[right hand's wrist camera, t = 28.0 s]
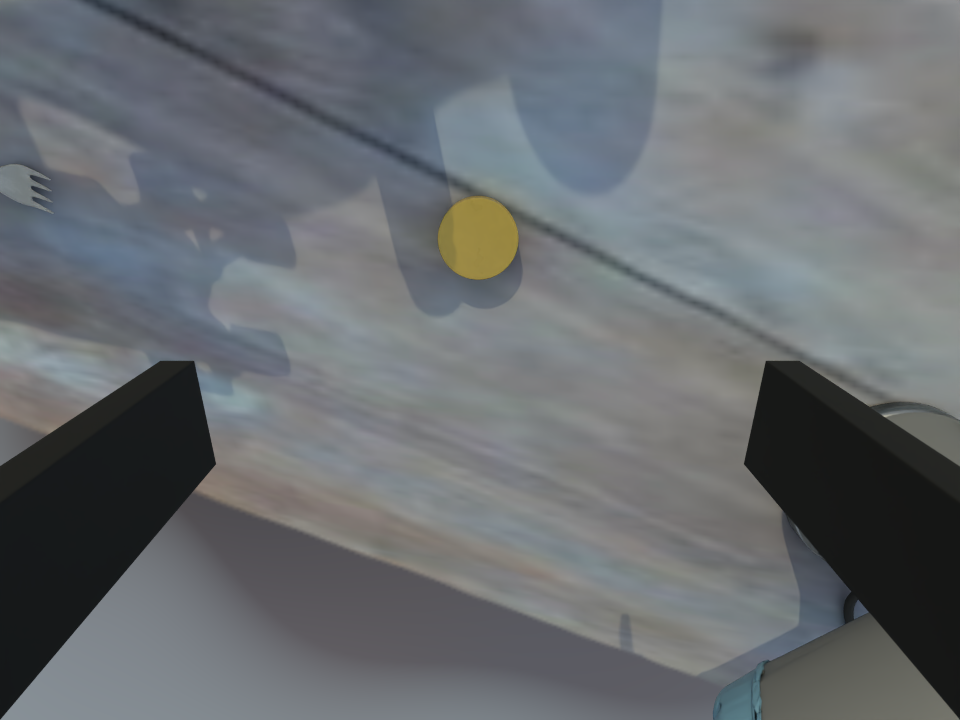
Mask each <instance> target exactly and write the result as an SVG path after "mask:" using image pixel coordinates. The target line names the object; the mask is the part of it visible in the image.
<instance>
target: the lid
mask: <svg viewBox="0 0 960 720" xmlns="http://www.w3.org/2000/svg"><path fill="white" fill-rule="evenodd" d="M438 246H439V250H440V253H441V256H442V258H443V260H444V261H445V263H446V264H447V265H448V266H449V267H450V269H452V270H453V271H454V272H455V273H457V274H459V275H460V276H463V277H465V278H469V279H474V280H482V279H488V278H491V277H494V276H496V275H498V274H500V273H501V272H502V271H504V270H505V269H506V268H507V267H508V266H509V265H510V263H511V262H512V260H513V259H514V256H515V254H516V251H517V248H518V230H517V226H516V224H515V221H514V219H513V217H512V215H511V214H510V212H509V211H508V210H507V209H506V207H505V206H503V205H502V204H501V203H500V202H498V201H496V200H494V199H492V198H489V197H485V196H471V197H467V198H464V199H462V200H460V201H458V202H457V203H455V204H454V205H453V206H452V207H451V208H450V209H449V210H448V211H447V213H446V214H445V216H444V218H443V220H442V222H441V224H440V227H439V232H438Z"/></svg>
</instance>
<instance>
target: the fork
mask: <svg viewBox="0 0 960 720" xmlns="http://www.w3.org/2000/svg"><path fill="white" fill-rule="evenodd" d="M30 175H34V176H37V177H41V178H44V179H47V180H49V181H51V179H50V178H48V177H46V176H44V175H42V174H41V173H39V172H37V171H34V170H32V169H30V168H28V167H26V166H23V165H19V164H10V165H5V166H2V167H0V193H2V194H4V195H5V196H7V197H9V198H11V199H12V200H14V201H16V202H19V203H21V204H24V205H27V206H32V207H35V208H38V209H41V210H44V211H47V212H49V213H51V214H54V212H52V211H50V210H49V209H47V208H45V207H44V206H42V205H40V204H38V203H36V202H35V201H33V199H32V197H37V198H40V199H42V200H45V201H48V202H51V203H53V201H51V200H49V199H48V198H46V197H44V196H42V195H41V194H39V193H37V192H35V191H33V190H32V188H31V186H35V187H38V188H41V189H44V190H47V191H52V190H50V189H48V188H47V187H45V186H43V185H41V184H39V183H37V182H35V181H34V180H32V179H31V178H30Z"/></svg>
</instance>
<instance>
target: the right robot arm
mask: <svg viewBox="0 0 960 720" xmlns="http://www.w3.org/2000/svg"><path fill="white" fill-rule="evenodd" d="M215 465H216V462H215V457H214V452H213V448H212V443H211V438H210V434H209V429H208V424H207V419H206V415H205V410H204V405H203V401H202V396H201V391H200V387H199V382H198V377H197V373H196V368H195V363H194V361H160V362H158V363H157V364H155V365H154V366H152V367H151V368H149V369H148V370H146V371H145V372H143V373H142V374H140V375H138V376H137V377H135V378H134V379H132V380H131V381H129V382H128V383H126V384H125V385H123V386H122V387H120V388H119V389H117V390H116V391H114V392H113V393H111V394H110V395H108V396H106V397H105V398H103V399H102V400H100V401H99V402H97V403H96V404H94V405H93V406H91V407H90V408H88V409H87V410H85V411H84V412H82V413H81V414H79V415H77V416H76V417H74V418H73V419H71V420H70V421H68V422H67V423H65V424H64V425H62V426H61V427H59V428H58V429H56V430H55V431H53V432H52V433H50V434H49V435H47V436H45V437H44V438H42V439H41V440H39V441H38V442H36V443H35V444H33V445H32V446H30V447H29V448H27V449H26V450H24V451H23V452H21V453H20V454H18V455H17V456H15V457H13V458H12V459H10V460H9V461H7V462H6V463H4V464H3V465H1V466H0V719H1V718H2V717H3V716H4V715H5V713H6V712H7V711H8V710H9V709H10V707H11V706H12V705H13V704H14V703H15V701H16V700H17V699H18V698H19V697H20V695H21V694H22V693H23V692H24V691H25V690H26V688H27V687H28V686H29V685H30V684H31V683H32V681H33V680H34V679H35V678H36V677H37V675H38V674H39V673H40V672H41V671H42V670H43V668H44V667H45V666H46V665H47V664H48V662H49V661H50V660H51V659H52V658H53V656H54V655H55V654H56V653H57V652H58V651H59V649H60V648H61V647H62V646H63V645H64V643H65V642H66V641H67V640H68V639H69V638H70V636H71V635H72V634H73V633H74V632H75V630H76V629H77V628H78V627H79V626H80V625H81V623H82V622H83V621H84V620H85V619H86V617H87V616H88V615H89V614H90V613H91V611H92V610H93V609H94V608H95V607H96V606H97V604H98V603H99V602H100V601H101V600H102V598H103V597H104V596H105V595H106V594H107V593H108V591H109V590H110V589H111V588H112V587H113V585H114V584H115V583H116V582H117V581H118V580H119V578H120V577H121V576H122V575H123V574H124V572H125V571H126V570H127V569H128V568H129V566H130V565H131V564H132V563H133V562H134V560H135V559H136V558H137V557H138V556H139V555H140V553H141V552H142V551H143V550H144V549H145V547H146V546H147V545H148V544H149V543H150V542H151V540H152V539H153V538H154V537H155V536H156V535H157V533H158V532H159V531H160V530H161V529H162V527H163V526H164V525H165V524H166V523H167V521H168V520H169V519H170V518H171V517H172V516H173V514H174V513H175V512H176V511H177V510H178V508H179V507H180V506H181V505H182V504H183V502H184V501H185V500H186V499H187V498H188V497H189V495H190V494H191V493H192V492H193V491H194V490H195V488H196V487H197V486H198V485H199V484H200V482H201V481H202V480H203V479H204V478H205V476H206V475H207V474H208V473H209V472H210V471H211V469H212V468H213V467H214V466H215ZM744 465H745V466H746V467H747V468H748V469H749V471H750V472H751V473H752V474H753V475H754V476H755V478H756V479H757V480H758V481H759V482H760V484H761V485H762V486H763V487H764V488H765V490H766V491H767V492H768V493H769V494H770V495H771V497H772V498H773V499H774V500H775V501H776V503H777V504H778V505H779V506H780V507H781V508H782V510H783V511H784V512H785V513H786V515H787V518H788V521H789V523H790V525H791V526H792V528H793V529H794V531H795V532H796V533H797V535H798V536H799V537H800V538H801V539H802V541H803V542H804V543H805V544H806V545H807V547H808V548H809V549H810V550H811V551H812V552H814V553H815V554H816V555H817V556H819V557H820V558H822V559H823V560H825V561H826V562H827V563H828V564H829V565H830V566H831V568H832V569H833V570H834V571H835V572H836V574H837V575H838V576H839V577H840V578H841V580H842V581H843V582H844V583H845V584H846V585H847V587H848V588H849V589H850V590H851V593H850V594H849V595H848V597H847V598H846V600H845V604H844V618H845V622H846V624H845V625H843V626H841V627H839V628H837V629H835V630H833V631H831V632H829V633H827V634H825V635H823V636H821V637H819V638H817V639H815V640H813V641H811V642H809V643H807V644H805V645H803V646H801V647H799V648H797V649H795V650H793V651H791V652H789V653H787V654H785V655H783V656H781V657H778V658H776V659H774V660H772V661H769V660H765V661H763V662H761V663H759V664H758V666H757V667H756V669H755V670H753V671H751V672H749V673H748V674H746V675H744V676H743V677H741V678H739V679H738V680H736V681H734V682H733V683H731V684H729V685H727V686H726V687H725V688H723V689H722V690H721V692H720V693H719V695H718V696H717V698H716V701H715V704H714V710H713V720H960V420H958V419H956V418H954V417H953V416H951V415H949V414H947V413H946V412H944V411H942V410H940V409H937V408H935V407H932V406H929V405H924V404H920V403H911V402H896V403H887V404H881V405H876V406H872V407H869V406H867V405H866V404H864V403H863V402H861V401H860V400H858V399H857V398H855V397H854V396H852V395H850V394H849V393H847V392H846V391H844V390H843V389H841V388H840V387H838V386H837V385H835V384H834V383H832V382H831V381H829V380H828V379H826V378H825V377H823V376H822V375H820V374H818V373H817V372H815V371H814V370H812V369H811V368H809V367H808V366H806V365H805V364H803V363H802V362H800V361H766V363H765V368H764V373H763V377H762V382H761V387H760V391H759V396H758V401H757V405H756V410H755V415H754V419H753V424H752V429H751V434H750V438H749V443H748V448H747V452H746V457H745V462H744ZM857 600H859V601H860V602H861V603H862V604H863V606H864V607H865V608H866V609H867V610H868V611H869V613H867V614H865V615H863V616H861V617H859V618H857V619H855V620H854V616H853V611H854V606H855V603H856V602H857Z"/></svg>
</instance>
